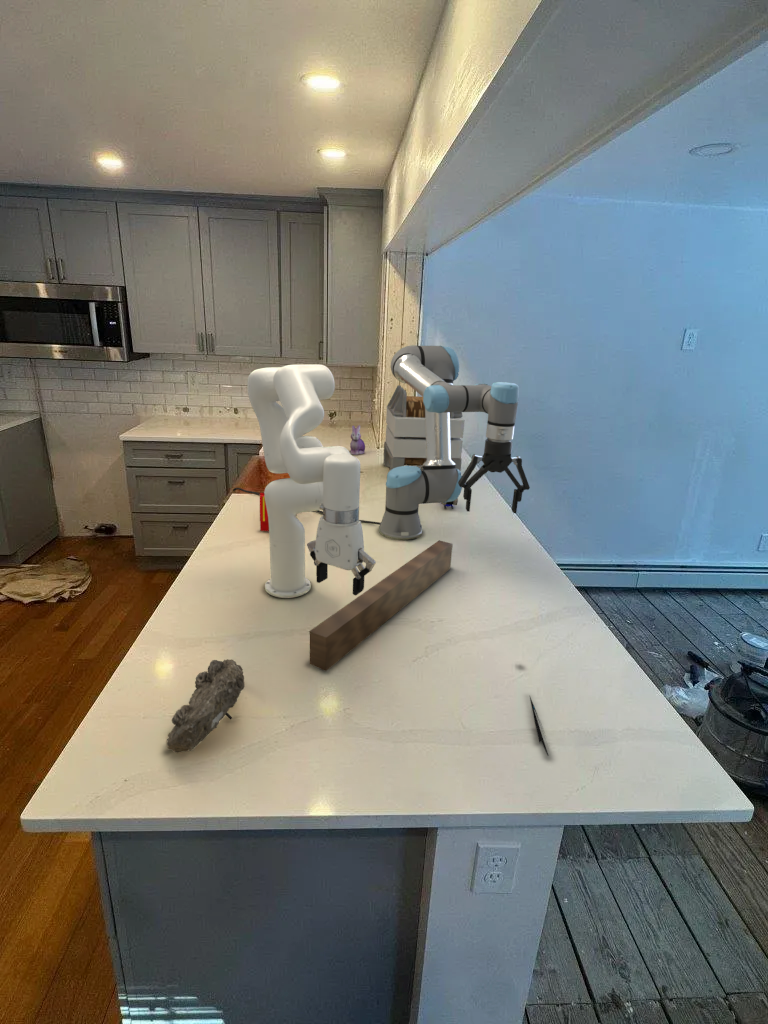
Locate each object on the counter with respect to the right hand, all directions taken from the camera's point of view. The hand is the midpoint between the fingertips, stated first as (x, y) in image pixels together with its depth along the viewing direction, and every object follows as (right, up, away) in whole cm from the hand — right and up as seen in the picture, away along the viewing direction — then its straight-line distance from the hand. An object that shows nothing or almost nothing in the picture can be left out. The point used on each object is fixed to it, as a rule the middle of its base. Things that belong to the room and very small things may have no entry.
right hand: (490, 510), depth 165 cm
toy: (-70, -3, +44) cm, 83 cm away
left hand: (-41, -17, -41) cm, 60 cm away
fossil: (-64, -39, -57) cm, 95 cm away
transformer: (-14, +18, +110) cm, 112 cm away
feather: (-1, -40, -51) cm, 65 cm away
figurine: (-46, +32, +142) cm, 152 cm away
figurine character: (-5, +2, +66) cm, 66 cm away
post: (-29, -26, -15) cm, 42 cm away
